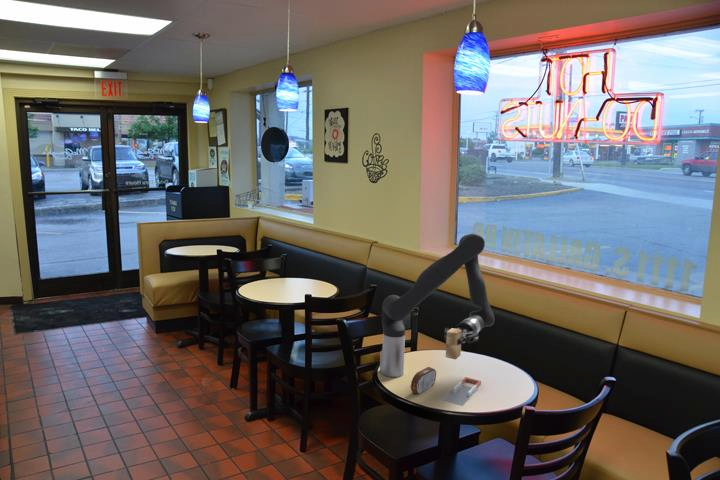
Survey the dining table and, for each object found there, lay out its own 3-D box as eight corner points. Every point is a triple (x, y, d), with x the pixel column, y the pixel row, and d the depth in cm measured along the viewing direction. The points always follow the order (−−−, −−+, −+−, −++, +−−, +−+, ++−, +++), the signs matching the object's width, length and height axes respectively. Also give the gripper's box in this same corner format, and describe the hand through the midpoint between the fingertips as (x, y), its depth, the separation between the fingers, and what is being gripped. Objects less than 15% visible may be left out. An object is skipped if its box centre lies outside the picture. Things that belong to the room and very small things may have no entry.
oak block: (445, 357, 203) (446, 331, 202) (450, 353, 208) (451, 327, 206) (455, 359, 201) (457, 333, 200) (460, 355, 206) (462, 329, 204)
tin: (430, 383, 222) (431, 363, 220) (437, 385, 220) (438, 365, 218) (409, 395, 210) (410, 374, 209) (416, 397, 208) (417, 377, 207)
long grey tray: (442, 401, 206) (442, 396, 205) (463, 380, 225) (463, 376, 225) (462, 406, 202) (463, 401, 201) (482, 385, 221) (482, 380, 221)
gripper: (451, 316, 219) (434, 327, 205) (486, 323, 212) (471, 335, 198) (450, 334, 221) (433, 346, 206) (484, 341, 214) (470, 354, 199)
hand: (452, 341), depth 202 cm, fingers closed on oak block, 4 cm apart
